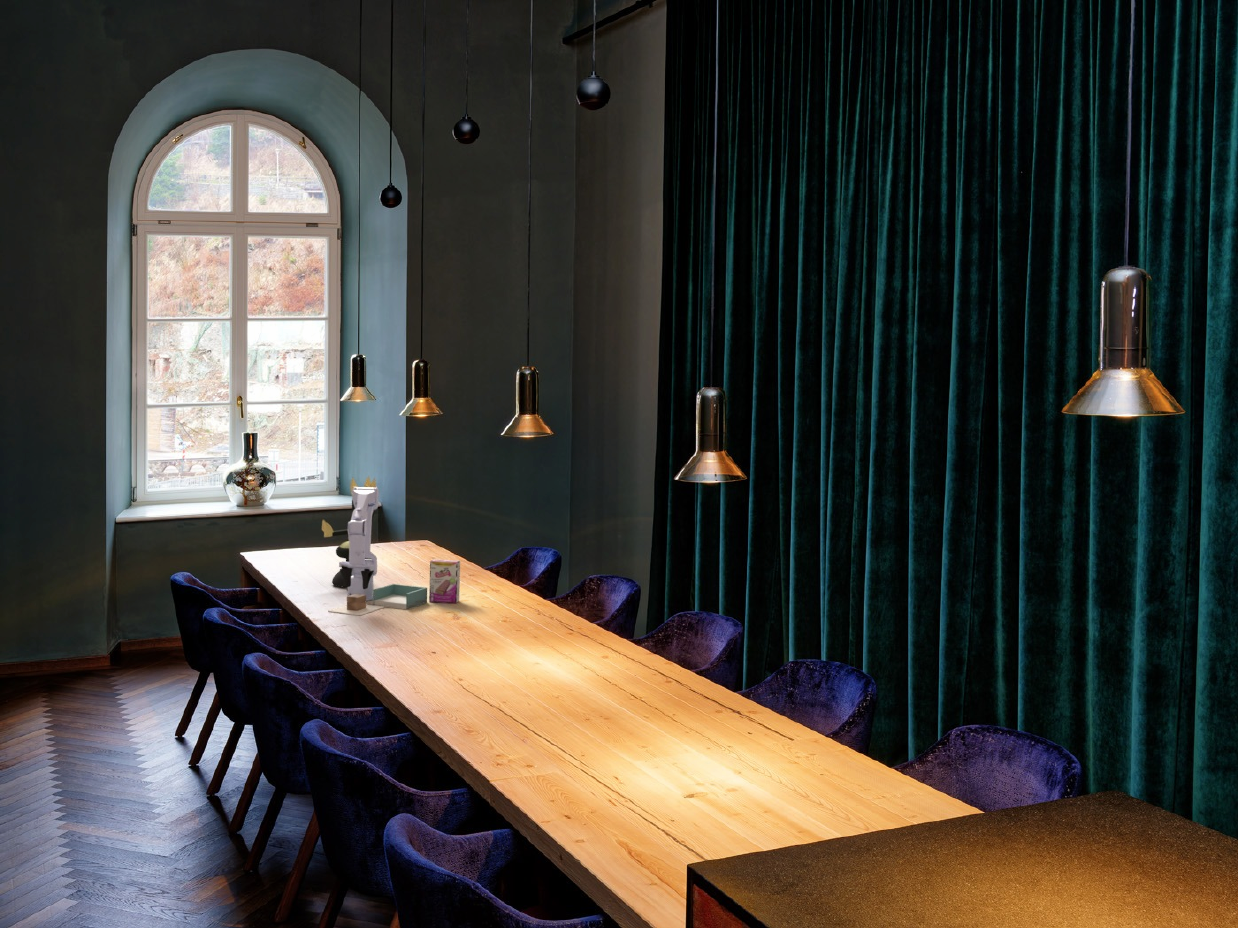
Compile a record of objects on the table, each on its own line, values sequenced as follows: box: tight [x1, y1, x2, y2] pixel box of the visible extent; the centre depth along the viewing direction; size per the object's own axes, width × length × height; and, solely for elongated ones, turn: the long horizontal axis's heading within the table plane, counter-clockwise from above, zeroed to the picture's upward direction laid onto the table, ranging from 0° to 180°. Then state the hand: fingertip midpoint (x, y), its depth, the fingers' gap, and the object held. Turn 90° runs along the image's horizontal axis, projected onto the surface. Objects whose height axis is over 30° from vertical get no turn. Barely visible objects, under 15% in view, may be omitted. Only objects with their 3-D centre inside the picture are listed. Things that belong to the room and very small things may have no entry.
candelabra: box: [321, 475, 378, 589], centre depth 496 cm, size 19×22×45 cm
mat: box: [328, 604, 385, 617], centre depth 449 cm, size 14×16×1 cm
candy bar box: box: [428, 558, 461, 604], centre depth 467 cm, size 11×5×16 cm, turn 84°
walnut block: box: [346, 594, 367, 611], centre depth 449 cm, size 4×6×5 cm
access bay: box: [372, 583, 428, 610], centre depth 461 cm, size 16×14×6 cm
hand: (356, 587), depth 448 cm, fingers open, 7 cm apart
